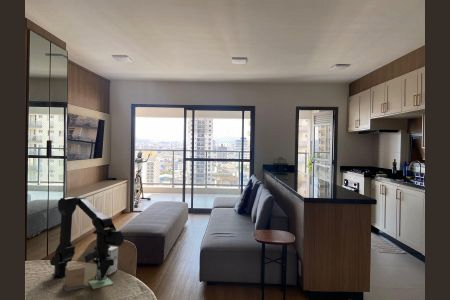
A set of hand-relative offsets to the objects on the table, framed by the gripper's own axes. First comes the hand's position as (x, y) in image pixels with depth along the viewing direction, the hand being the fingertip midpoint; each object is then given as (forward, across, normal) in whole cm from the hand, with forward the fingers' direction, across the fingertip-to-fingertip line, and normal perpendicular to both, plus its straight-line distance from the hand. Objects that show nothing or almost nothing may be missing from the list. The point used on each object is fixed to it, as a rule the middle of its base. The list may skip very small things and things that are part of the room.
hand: (101, 276), depth 142 cm
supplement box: (+4, -14, +7) cm, 16 cm away
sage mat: (+3, 0, 0) cm, 3 cm away
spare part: (+1, 0, 0) cm, 1 cm away
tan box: (+3, -3, -11) cm, 12 cm away
